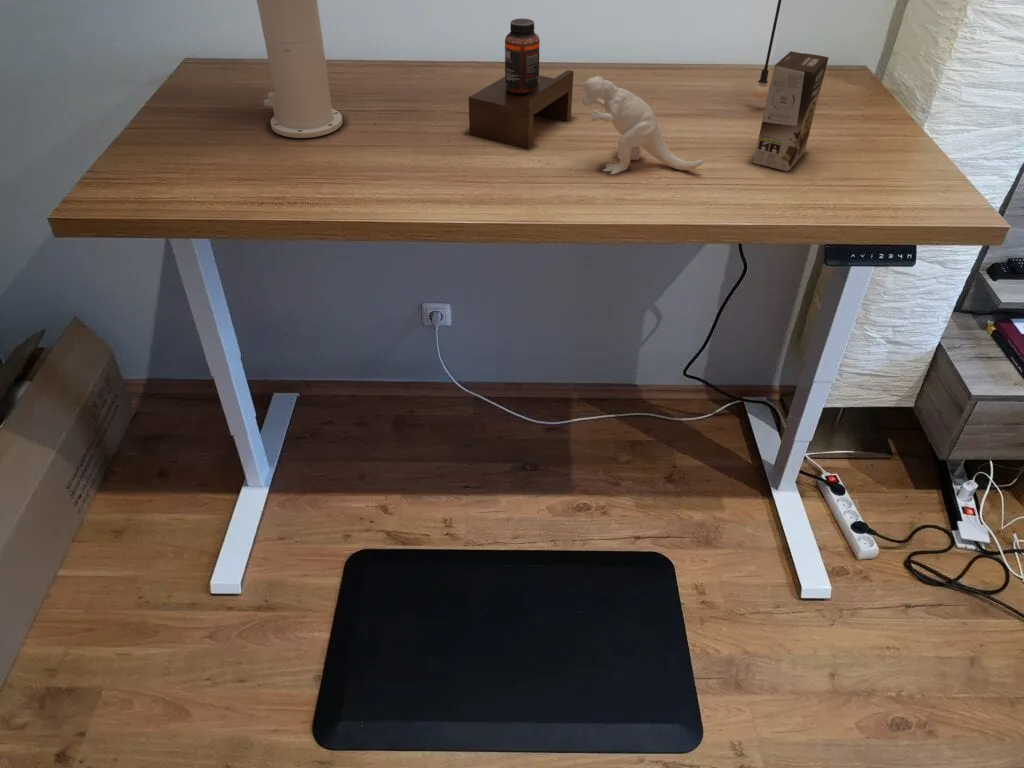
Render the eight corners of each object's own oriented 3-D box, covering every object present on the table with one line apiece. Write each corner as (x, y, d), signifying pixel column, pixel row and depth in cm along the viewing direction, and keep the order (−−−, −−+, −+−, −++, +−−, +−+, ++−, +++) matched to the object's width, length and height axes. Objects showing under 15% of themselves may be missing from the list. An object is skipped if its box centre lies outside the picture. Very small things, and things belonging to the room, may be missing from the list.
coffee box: (789, 172, 131) (814, 72, 121) (751, 163, 134) (772, 64, 124) (805, 153, 137) (830, 56, 127) (769, 144, 140) (790, 48, 130)
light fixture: (732, 107, 153) (759, -38, 137) (755, 99, 156) (784, -43, 140) (759, 118, 149) (790, -30, 133) (782, 110, 152) (816, -35, 136)
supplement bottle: (544, 86, 142) (546, 19, 135) (530, 97, 138) (532, 28, 131) (513, 81, 144) (514, 14, 137) (499, 92, 140) (498, 23, 133)
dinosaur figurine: (575, 172, 131) (581, 80, 121) (583, 148, 138) (589, 60, 129) (700, 183, 128) (716, 91, 118) (701, 158, 135) (716, 69, 126)
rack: (469, 134, 142) (468, 85, 137) (515, 105, 153) (515, 59, 147) (528, 148, 138) (529, 99, 132) (571, 118, 148) (573, 70, 143)
